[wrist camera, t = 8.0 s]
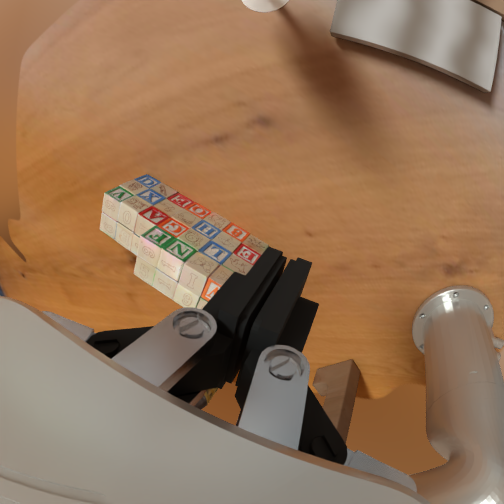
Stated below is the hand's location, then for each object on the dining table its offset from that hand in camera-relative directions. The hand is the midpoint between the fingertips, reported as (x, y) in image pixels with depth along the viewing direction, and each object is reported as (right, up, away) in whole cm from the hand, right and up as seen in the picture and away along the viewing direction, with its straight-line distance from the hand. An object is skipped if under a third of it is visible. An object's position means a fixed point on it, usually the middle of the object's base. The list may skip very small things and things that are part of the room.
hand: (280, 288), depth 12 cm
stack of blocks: (-9, +5, +34) cm, 36 cm away
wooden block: (+13, -18, +36) cm, 43 cm away
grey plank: (+17, +26, +12) cm, 33 cm away
